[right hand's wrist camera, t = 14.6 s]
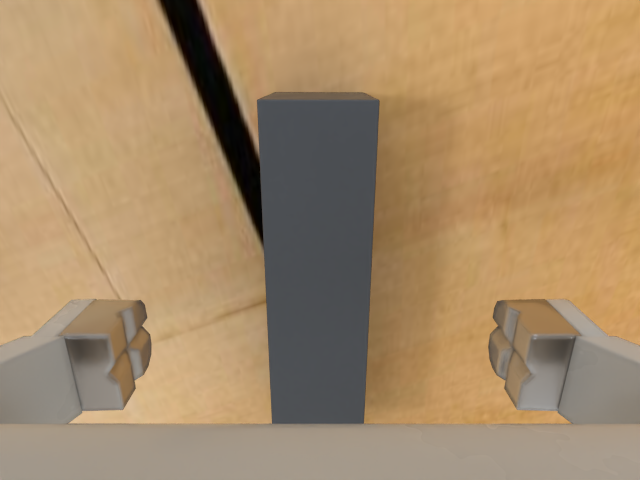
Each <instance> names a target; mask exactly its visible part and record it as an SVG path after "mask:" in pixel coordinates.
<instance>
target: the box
mask: <svg viewBox="0 0 640 480" xmlns="http://www.w3.org/2000/svg"><path fill="white" fill-rule="evenodd" d="M257 109H258V130H259V152H260V173H261V195H262V216H263V238H264V259H265V281H266V302H267V324H268V345H269V367H270V388H271V409H272V424H364V409H365V389H366V368H367V347H368V327H369V306H370V285H371V265H372V244H373V223H374V202H375V182H376V161H377V140H378V120H379V100H378V99H376V98H374V97H371V96H369V95H367V94H365V93H313V92H274V93H272V94H270V95H267V96H265V97H263V98H260V99H258V100H257Z"/></svg>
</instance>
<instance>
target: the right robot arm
mask: <svg viewBox="0 0 640 480" xmlns="http://www.w3.org/2000/svg"><path fill="white" fill-rule="evenodd" d="M146 319H147V314H146V309H145V305H144V303H143V302H142V301H141V300H105V299H98V300H97V299H77V300H71V301H70V302H69V303H68V304H67V305H65V306H64V307H63V308H62V309H61V310H60V311H59V312H58V313H57V314H55V315H54V316H53V317H52V318H51V319H50V320H49V321H48V322H47V323H45V324H44V325H43V326H42V327H41V328H40V329H39V330H38V331H37V332H35V333H34V334H33V335H32V336H23V337H21V338H18V339H16V340H13V341H11V342H8V343H6V344H3V345H1V346H0V480H640V346H639V345H637V344H634V343H632V342H629V341H627V340H624V339H622V338H619V337H617V336H608V335H607V334H606V333H605V332H603V331H602V330H601V329H600V328H599V327H598V326H597V325H596V324H595V323H594V322H592V321H591V320H590V319H589V318H588V317H587V316H586V315H585V314H584V313H582V312H581V311H580V310H579V309H578V308H577V307H576V306H575V305H574V304H572V303H571V302H570V301H569V300H566V299H547V300H545V299H533V300H501V301H497V303H496V305H495V308H494V313H493V319H494V320H495V322H496V323H497V325H498V327H497V328H496V329H495V330H494V331H493V332H492V333H491V334H490V339H489V347H488V348H489V358H490V362H491V365H492V368H493V370H494V371H495V373H496V375H497V376H499V377H501V378H502V379H504V380H506V382H505V387H504V389H505V390H506V392H507V394H508V395H509V397H510V399H511V400H512V402H513V404H514V405H515V407H516V409H517V410H541V411H558V413H559V414H560V415H561V416H563V417H564V418H566V419H567V420H568V421H570V422H571V423H572V424H68V423H69V422H71V421H72V420H73V419H75V418H76V417H77V416H79V415H80V414H81V413H82V411H98V410H123V409H124V407H125V406H126V404H127V402H128V400H129V399H130V397H131V395H132V394H133V392H134V390H135V389H136V387H135V382H134V380H136V379H138V378H139V377H141V376H143V375H144V373H145V371H146V369H147V368H148V365H149V361H150V357H151V338H150V334H149V333H148V332H147V331H146V330H145V329H144V328H143V327H142V325H143V323H144V322H145V320H146Z"/></svg>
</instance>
